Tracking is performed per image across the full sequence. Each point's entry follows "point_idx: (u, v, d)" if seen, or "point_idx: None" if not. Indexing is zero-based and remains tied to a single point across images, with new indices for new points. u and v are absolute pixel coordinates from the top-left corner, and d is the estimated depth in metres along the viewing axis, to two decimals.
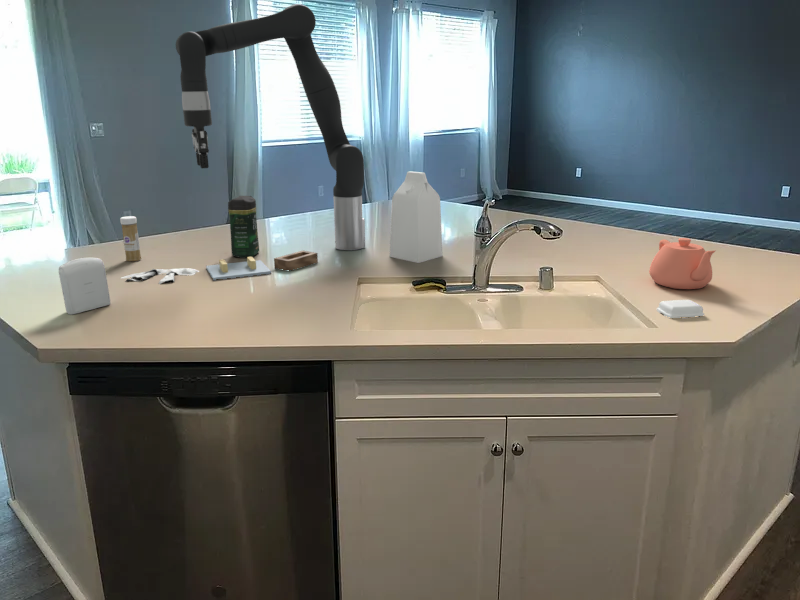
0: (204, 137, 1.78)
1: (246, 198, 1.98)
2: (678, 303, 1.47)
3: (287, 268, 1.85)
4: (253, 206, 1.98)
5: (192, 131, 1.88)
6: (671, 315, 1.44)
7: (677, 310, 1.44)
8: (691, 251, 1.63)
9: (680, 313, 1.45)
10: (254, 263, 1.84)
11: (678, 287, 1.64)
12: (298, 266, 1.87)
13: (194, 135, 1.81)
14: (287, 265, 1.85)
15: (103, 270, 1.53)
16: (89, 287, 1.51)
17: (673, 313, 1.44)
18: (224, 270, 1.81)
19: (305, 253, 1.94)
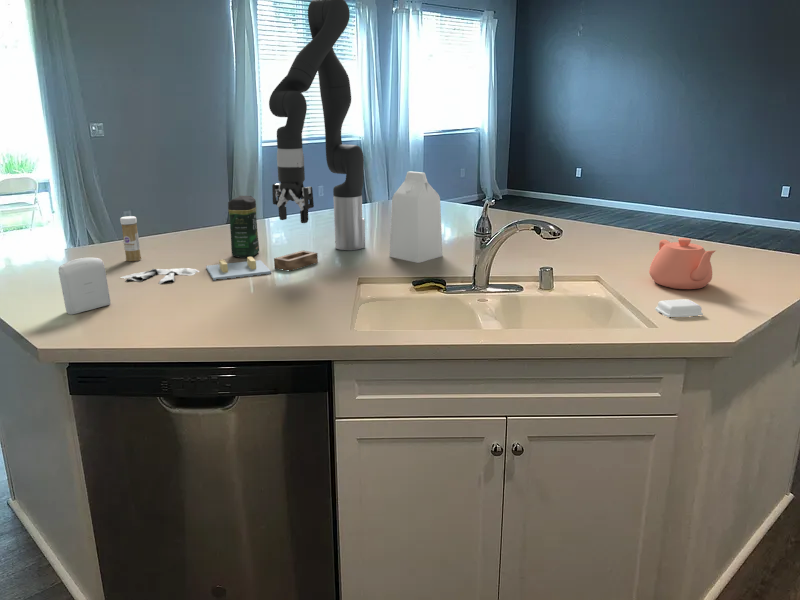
0: None
1: (246, 198, 1.98)
2: (677, 303, 1.47)
3: (287, 268, 1.85)
4: (253, 206, 1.98)
5: None
6: (670, 314, 1.45)
7: (676, 310, 1.45)
8: (691, 251, 1.63)
9: (679, 312, 1.45)
10: (254, 263, 1.84)
11: (678, 287, 1.64)
12: (298, 266, 1.87)
13: None
14: (287, 265, 1.85)
15: (103, 270, 1.53)
16: (89, 287, 1.51)
17: (672, 312, 1.45)
18: (224, 270, 1.81)
19: (305, 253, 1.94)
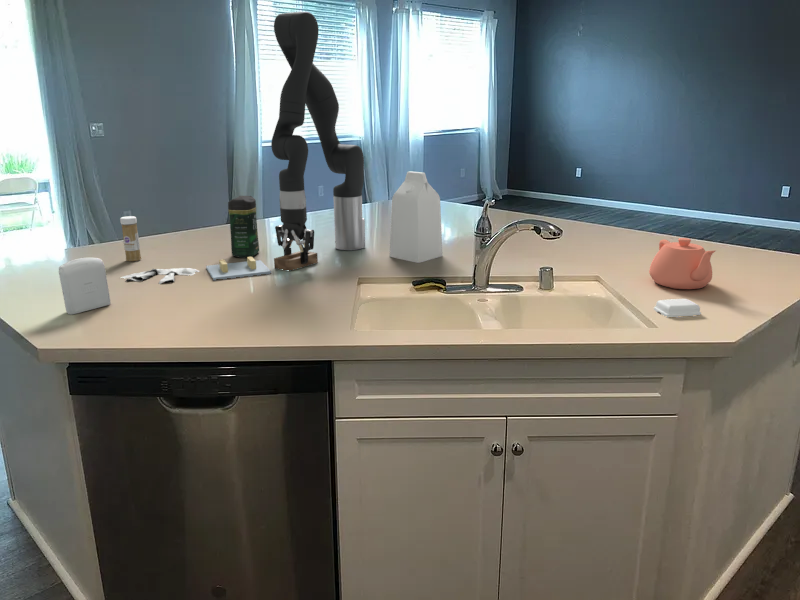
0: None
1: (246, 198, 1.98)
2: (675, 302, 1.47)
3: (287, 268, 1.85)
4: (253, 206, 1.98)
5: None
6: (668, 314, 1.45)
7: (674, 309, 1.45)
8: (691, 251, 1.63)
9: (677, 312, 1.45)
10: (254, 263, 1.84)
11: (678, 287, 1.64)
12: (298, 266, 1.87)
13: None
14: (287, 265, 1.85)
15: (103, 270, 1.53)
16: (89, 287, 1.51)
17: (670, 312, 1.45)
18: (224, 270, 1.81)
19: None
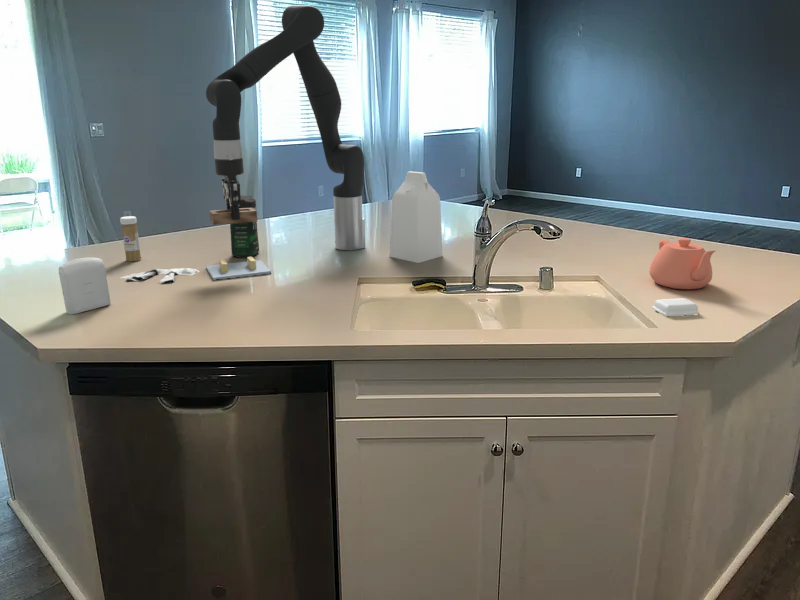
0: None
1: (246, 198, 1.98)
2: (673, 301, 1.48)
3: (213, 221, 1.76)
4: (253, 206, 1.98)
5: (239, 185, 1.73)
6: (666, 313, 1.46)
7: (672, 308, 1.46)
8: (691, 251, 1.63)
9: (675, 311, 1.46)
10: (254, 263, 1.84)
11: (678, 287, 1.64)
12: (227, 221, 1.77)
13: None
14: (212, 218, 1.76)
15: (103, 270, 1.53)
16: (89, 287, 1.51)
17: (668, 311, 1.46)
18: (224, 270, 1.81)
19: (249, 210, 1.82)
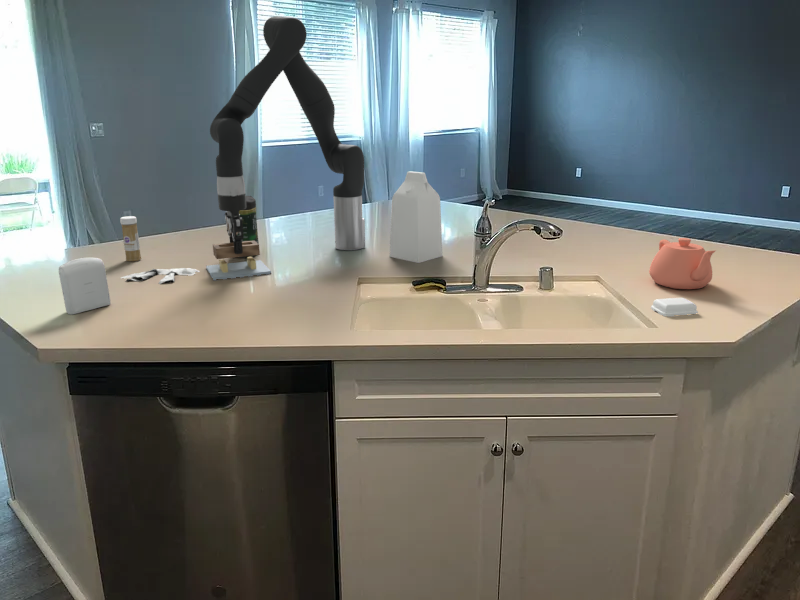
0: None
1: (246, 198, 1.98)
2: (672, 301, 1.48)
3: (216, 256, 1.79)
4: (253, 206, 1.98)
5: None
6: (665, 313, 1.46)
7: (671, 308, 1.46)
8: (691, 251, 1.63)
9: (674, 311, 1.46)
10: (254, 263, 1.84)
11: (678, 287, 1.64)
12: (230, 255, 1.80)
13: None
14: (216, 253, 1.79)
15: (103, 270, 1.53)
16: (89, 287, 1.51)
17: (667, 311, 1.46)
18: (224, 270, 1.81)
19: (251, 243, 1.85)
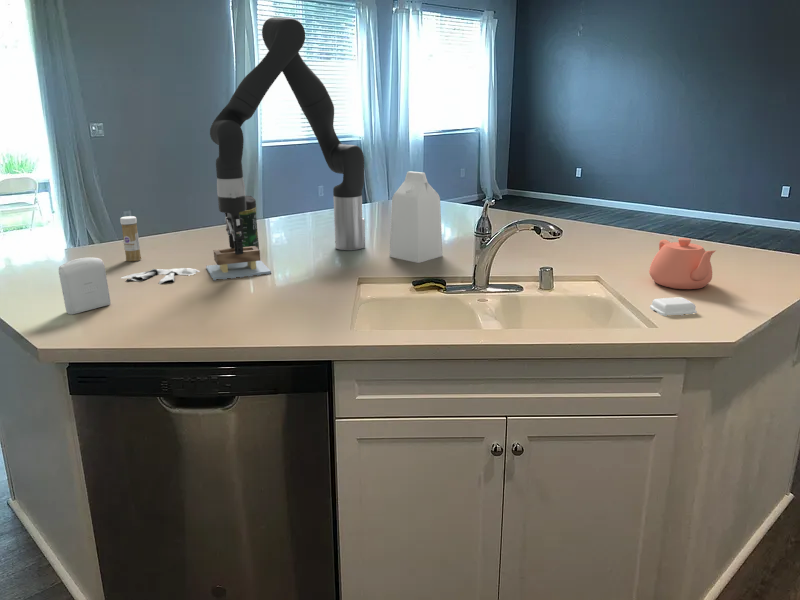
0: None
1: (246, 198, 1.98)
2: (671, 301, 1.48)
3: (217, 261, 1.80)
4: (253, 206, 1.98)
5: None
6: (664, 312, 1.46)
7: (670, 308, 1.46)
8: (691, 251, 1.63)
9: (673, 310, 1.46)
10: (254, 263, 1.84)
11: (678, 287, 1.64)
12: (231, 261, 1.81)
13: None
14: (216, 258, 1.79)
15: (103, 270, 1.53)
16: (89, 287, 1.51)
17: (666, 310, 1.46)
18: (224, 270, 1.81)
19: (252, 249, 1.86)
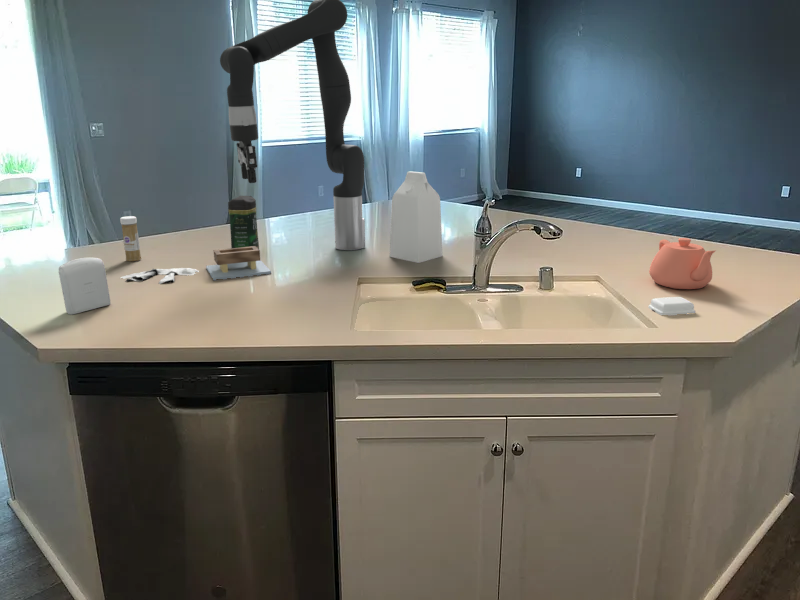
0: None
1: (246, 198, 1.98)
2: (669, 300, 1.49)
3: (217, 261, 1.80)
4: (253, 206, 1.98)
5: (254, 148, 1.78)
6: (662, 312, 1.47)
7: (669, 307, 1.46)
8: (691, 251, 1.63)
9: (671, 310, 1.47)
10: (254, 263, 1.84)
11: (678, 287, 1.64)
12: (231, 261, 1.81)
13: None
14: (216, 258, 1.79)
15: (103, 270, 1.53)
16: (89, 287, 1.51)
17: (664, 310, 1.47)
18: (224, 270, 1.81)
19: (252, 249, 1.86)
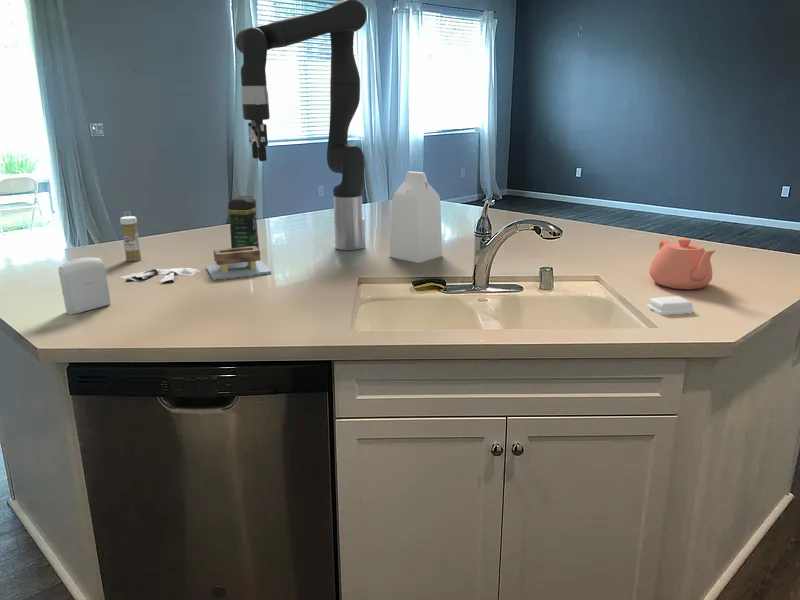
0: None
1: (246, 198, 1.98)
2: (668, 300, 1.49)
3: (217, 261, 1.80)
4: (253, 206, 1.98)
5: None
6: (661, 311, 1.47)
7: (667, 307, 1.47)
8: (691, 251, 1.63)
9: (670, 309, 1.47)
10: (254, 263, 1.84)
11: (678, 287, 1.64)
12: (231, 261, 1.81)
13: None
14: (216, 258, 1.79)
15: (103, 270, 1.53)
16: (89, 287, 1.51)
17: (663, 309, 1.47)
18: (224, 270, 1.81)
19: (252, 249, 1.86)
